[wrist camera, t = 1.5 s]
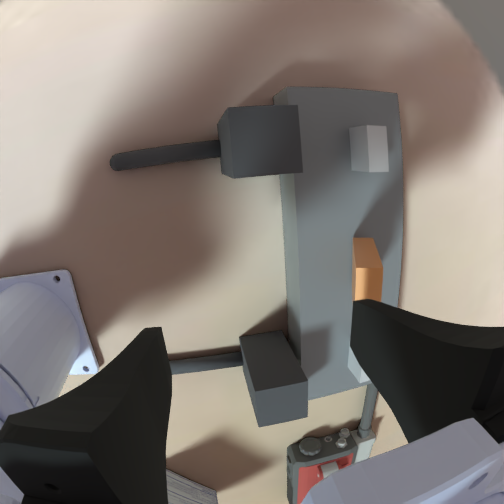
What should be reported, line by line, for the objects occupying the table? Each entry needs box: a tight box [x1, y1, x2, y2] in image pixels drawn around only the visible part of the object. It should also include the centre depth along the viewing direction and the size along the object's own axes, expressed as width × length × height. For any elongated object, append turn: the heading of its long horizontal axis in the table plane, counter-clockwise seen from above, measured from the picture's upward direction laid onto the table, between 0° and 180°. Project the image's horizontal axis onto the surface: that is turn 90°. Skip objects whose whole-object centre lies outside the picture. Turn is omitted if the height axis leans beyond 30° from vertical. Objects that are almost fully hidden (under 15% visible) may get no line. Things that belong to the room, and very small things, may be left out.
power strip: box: [273, 87, 403, 400], centre depth 19 cm, size 7×20×5 cm, turn 5°
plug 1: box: [110, 105, 303, 178], centre depth 15 cm, size 10×3×6 cm, turn 95°
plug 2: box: [169, 330, 308, 427], centre depth 19 cm, size 10×3×6 cm, turn 95°
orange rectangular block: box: [352, 238, 383, 302], centre depth 16 cm, size 1×3×5 cm, turn 4°
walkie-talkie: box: [287, 383, 378, 504], centre depth 26 cm, size 9×4×20 cm
